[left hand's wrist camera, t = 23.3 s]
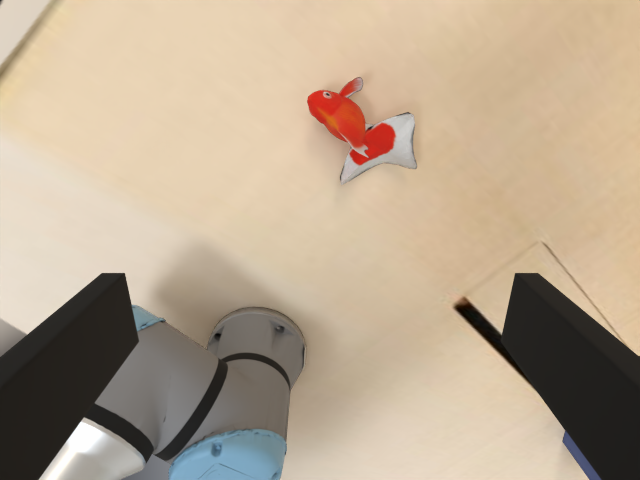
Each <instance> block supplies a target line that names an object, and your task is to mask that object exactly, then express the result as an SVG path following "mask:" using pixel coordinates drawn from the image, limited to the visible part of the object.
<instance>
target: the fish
mask: <svg viewBox="0 0 640 480" xmlns="http://www.w3.org/2000/svg"><path fill="white" fill-rule="evenodd" d="M362 87H363V80H362V78H361V77H358V78H355V79H354V80H352V81H350V82H349V83H348V84H347V85H345V86H344V87H343V89H342V90H341V91H340V93H339V94H338V93H334V92H331V91H327V90H319V91H316V92H314V93H312V94H311V95H310V96H308V100H307V103H308V106H309V110H310V113H311V115H312V116H314V117H315V118H316V119H317V120H318V121H319V122H320V123H323V124H324V125H325V126H326V127H327V129H328V130H329V131H330V132H331V133H332V134H333V135H334V136H336V137H337V138H339V139H341V140H343V141H345V142H348V143H349V144H350V146H351V148H350V151H349V153H348V155H347V158H346V161H345V164H344V167H343V170H342V173H341V176H340V180H341V185H342V184H344V183H346V182H348V181H350V180H352V179H353V178H355V177H357V176H358V175H360V174H361V173H363V172H365V171H367V170H368V169H370V168H372V167H374V166H376V165H379V164H381V163H390V164H397V165H400V166H403V167H406V168H410V169H416V168H417V164H416V160H415V158H414V152H413V134H414V128H415V121H414V115H413V114H411V113H409V112H407V113H404V114H400V115H397V116H394V117H391V118H389V119H386V120H384V121H382V122H380V123H377V124H375V125H372V124H365V119H364V116H363V113H362V111H361V109H360V108H359V106H358V105H357V104H355V103H354V102H353V101H352V100H350V99H349V98H348V97H350V96H351V95H352V94H353V93H355V92H358V91H360V90H361V89H362Z"/></svg>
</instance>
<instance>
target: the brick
mask: <svg viewBox="0 0 640 480" xmlns="http://www.w3.org/2000/svg"><path fill="white" fill-rule="evenodd" d="M563 443H564V444H565V446H566V447H567V449H568V450H569V451H570V453H571V454H572V456H573V457H574V458H575V460H576V461H577V463H578V464H579V466H580V467H581V468H582V470H583V471H584V473H585V474H586V475H587V477H588V478H589V480H601V479H600V477H599V476H598V474H597V473H596V472H595V470H594V469H593V468H592V466H591V465H590V463H589V462H588V461H587V459H586V458H585V457H584V455H583V454H582V452H581V451H580V450H579V448H578V447H577V446H576V444H575V443H574V441H573V440H572V439H571V437H570V436H569V435H568V433H567V432H566V431H565V434H564V438H563Z"/></svg>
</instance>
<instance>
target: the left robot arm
mask: <svg viewBox="0 0 640 480" xmlns="http://www.w3.org/2000/svg"><path fill="white" fill-rule="evenodd" d="M165 321H166V320H165V319H163V318H158V317H156V316H154V315H153V314H151V313H149V312H148V311H146V310H144V309H143V308H141V307H139V306H137V305H131V300H130V295H129V291H128V286H127V281H126V277H125V273H102V274H100V275H99V276H98V277H97V278H96V279H94V280H93V281H92V282H91V283H89V284H88V285H87V286H86V287H85V288H83V289H82V290H81V291H80V292H79V293H77V294H76V295H75V296H74V297H73V298H71V299H70V300H69V301H68V302H67V303H65V304H64V305H63V306H62V307H60V308H59V309H58V310H57V311H56V312H54V313H53V314H52V315H51V316H50V317H48V318H47V319H46V320H45V321H44V322H42V323H41V324H40V325H39V326H37V327H36V328H35V329H34V330H33V331H31V332H30V333H29V334H28V335H27V336H25V337H24V338H23V339H22V340H21V341H19V342H18V343H17V344H16V345H15V346H13V347H12V348H11V349H10V350H8V351H7V352H6V353H5V354H4V355H2V356H1V357H0V480H121V479H122V478H125V477H127V476H129V475H132V474H134V473H137V472H139V471H141V470H143V468H144V467H145V465H146V463H147V461H148V460H149V458H150V456H151V454H153V455H155V456H157V457H159V458H161V459H162V460H164V461H166V462H168V463H169V464H171V467H170V469H169V480H280V477H281V473H282V468H283V462H284V457H285V455H286V451H287V446H286V445H287V444H286V437H287V425H288V412H289V401H290V390H291V389H292V387H293V385H294V383H295V382H296V380H297V378H298V376H299V374H300V373H301V371H302V369H303V366H304V368H305V365H306V347H305V341H304V337H303V335H302V333H301V331H300V329H299V328H298V327H297V325H296V324H295V323H294V322H293V321H292V320H291V319H289V318H288V317H286V316H285V315H283V314H281V313H279V312H277V311H274V310H271V309H267V308H261V307H249V308H243V309H239V310H236V311H234V312H232V313H230V314H228V315H226V316H225V317H224V318H223V319H221V320H220V321H219V323H218V324H217V325H216V327H215V328H214V330H213V332H212V334H211V337H210V339H209V342H208V347H207V350H206V349H205V348H203V347H202V346H200V345H199V344H197V343H196V342H194V341H193V340H191V339H190V338H189V337H187V336H186V335H184V334H183V333H181V332H180V331H178V330H177V329H175V328H174V327H172V326H171V325H169V324H168V323H166V322H165ZM501 342H502V344H503V345H504V347H505V348H506V349H507V351H508V352H509V353H510V355H511V356H512V358H513V359H514V360H515V362H516V363H517V364H518V366H519V367H520V369H521V370H522V371H523V373H524V374H525V375H526V377H527V378H528V380H529V381H530V382H531V384H532V385H533V386H534V388H535V389H536V391H537V392H538V393H539V395H540V396H541V397H542V399H543V400H544V402H545V403H546V404H547V406H548V407H549V408H550V410H551V411H552V413H553V414H554V415H555V417H556V418H557V419H558V421H559V422H560V424H561V425H562V426H563V428H564V429H565V430H566V432H567V433H568V435H569V436H570V437H571V439H572V440H573V441H574V443H575V444H576V446H577V447H578V448H579V450H580V451H581V452H582V454H583V455H584V457H585V458H586V459H587V461H588V462H589V463H590V465H591V466H592V468H593V469H594V470H595V472H596V473H597V474H598V476H599V477H600V479H601V480H640V356H638V355H636V354H635V353H634V352H633V351H632V350H630V349H629V348H628V347H627V346H626V345H624V344H623V343H622V342H621V341H619V340H618V339H617V338H616V337H615V336H613V335H612V334H611V333H610V332H609V331H607V330H606V329H605V328H604V327H603V326H601V325H600V324H599V323H598V322H596V321H595V320H594V319H593V318H592V317H590V316H589V315H588V314H587V313H586V312H584V311H583V310H582V309H581V308H580V307H578V306H577V305H576V304H575V303H573V302H572V301H571V300H570V299H569V298H567V297H566V296H565V295H564V294H563V293H561V292H560V291H559V290H558V289H557V288H555V287H554V286H553V285H552V284H551V283H549V282H548V281H547V280H546V279H544V278H543V277H542V276H541V275H540V274H538V273H515V277H514V281H513V286H512V291H511V295H510V300H509V305H508V309H507V314H506V319H505V323H504V328H503V333H502V338H501Z"/></svg>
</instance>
